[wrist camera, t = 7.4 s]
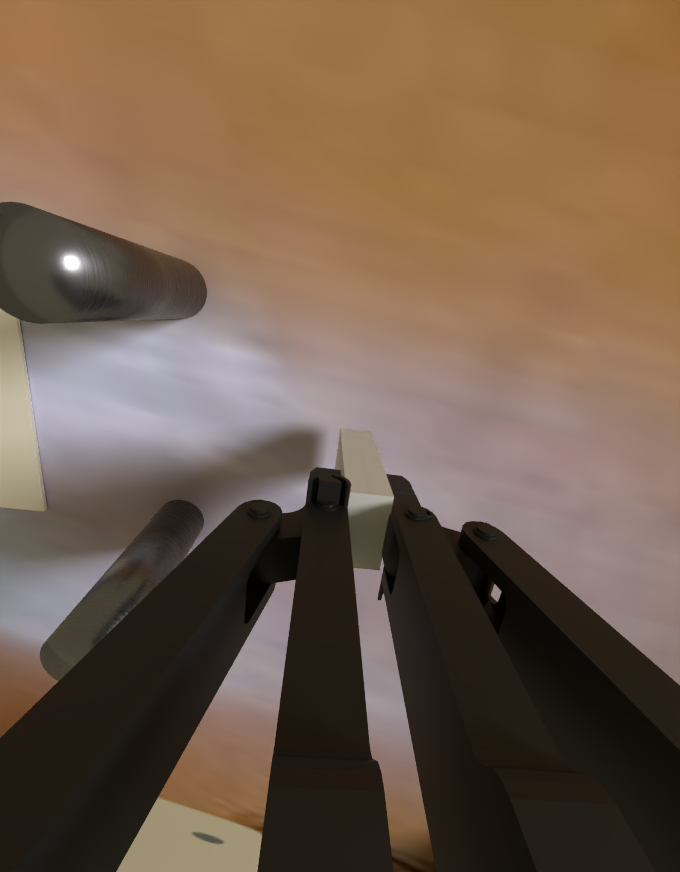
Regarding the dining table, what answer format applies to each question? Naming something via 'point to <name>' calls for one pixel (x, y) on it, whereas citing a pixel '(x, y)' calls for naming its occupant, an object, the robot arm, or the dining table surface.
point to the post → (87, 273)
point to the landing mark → (17, 425)
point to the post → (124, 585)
